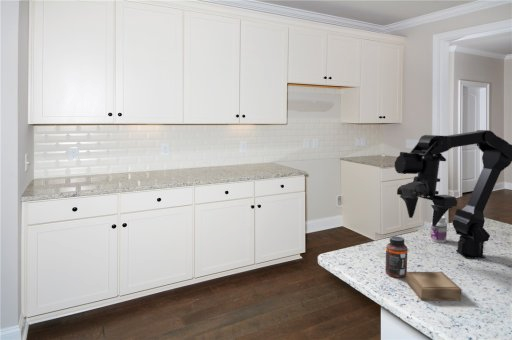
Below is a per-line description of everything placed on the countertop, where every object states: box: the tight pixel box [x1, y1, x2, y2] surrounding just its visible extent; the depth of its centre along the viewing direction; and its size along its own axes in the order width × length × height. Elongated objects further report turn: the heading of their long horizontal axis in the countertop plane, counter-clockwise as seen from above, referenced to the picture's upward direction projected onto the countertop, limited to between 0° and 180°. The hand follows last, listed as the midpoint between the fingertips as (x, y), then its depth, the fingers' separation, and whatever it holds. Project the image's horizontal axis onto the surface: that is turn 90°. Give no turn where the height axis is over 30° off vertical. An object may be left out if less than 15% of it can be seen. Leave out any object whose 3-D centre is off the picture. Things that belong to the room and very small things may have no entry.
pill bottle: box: [430, 215, 448, 244], centre depth 126 cm, size 5×5×10 cm
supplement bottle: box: [385, 235, 409, 279], centre depth 100 cm, size 6×6×11 cm
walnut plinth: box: [405, 271, 463, 301], centre depth 90 cm, size 10×10×3 cm
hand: (421, 221), depth 108 cm, fingers open, 9 cm apart
